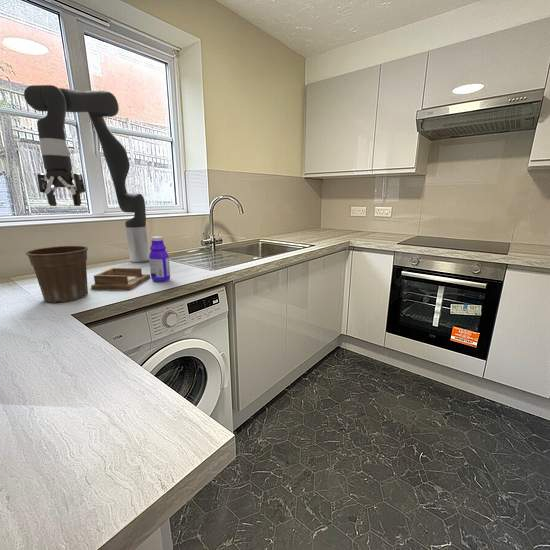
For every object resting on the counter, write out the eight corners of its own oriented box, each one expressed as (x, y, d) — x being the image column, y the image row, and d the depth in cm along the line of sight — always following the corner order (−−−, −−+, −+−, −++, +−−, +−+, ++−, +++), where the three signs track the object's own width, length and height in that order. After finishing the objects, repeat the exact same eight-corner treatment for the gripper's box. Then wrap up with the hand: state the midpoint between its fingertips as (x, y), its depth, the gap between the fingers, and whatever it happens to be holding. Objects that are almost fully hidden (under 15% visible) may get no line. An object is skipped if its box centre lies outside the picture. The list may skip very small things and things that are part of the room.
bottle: (173, 279, 120) (169, 236, 115) (164, 283, 114) (160, 238, 110) (158, 277, 122) (153, 235, 117) (148, 281, 116) (143, 237, 112)
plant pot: (73, 287, 109) (65, 243, 105) (106, 292, 104) (99, 246, 99) (24, 302, 94) (12, 252, 90) (60, 308, 89) (49, 256, 85)
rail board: (117, 277, 122) (115, 266, 121) (150, 277, 121) (148, 267, 120) (91, 289, 107) (89, 277, 105) (129, 290, 106) (127, 278, 105)
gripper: (84, 156, 100) (92, 205, 104) (44, 156, 101) (53, 205, 105) (68, 153, 93) (77, 206, 97) (25, 153, 93) (36, 206, 98)
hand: (65, 205), depth 101 cm, fingers open, 8 cm apart
